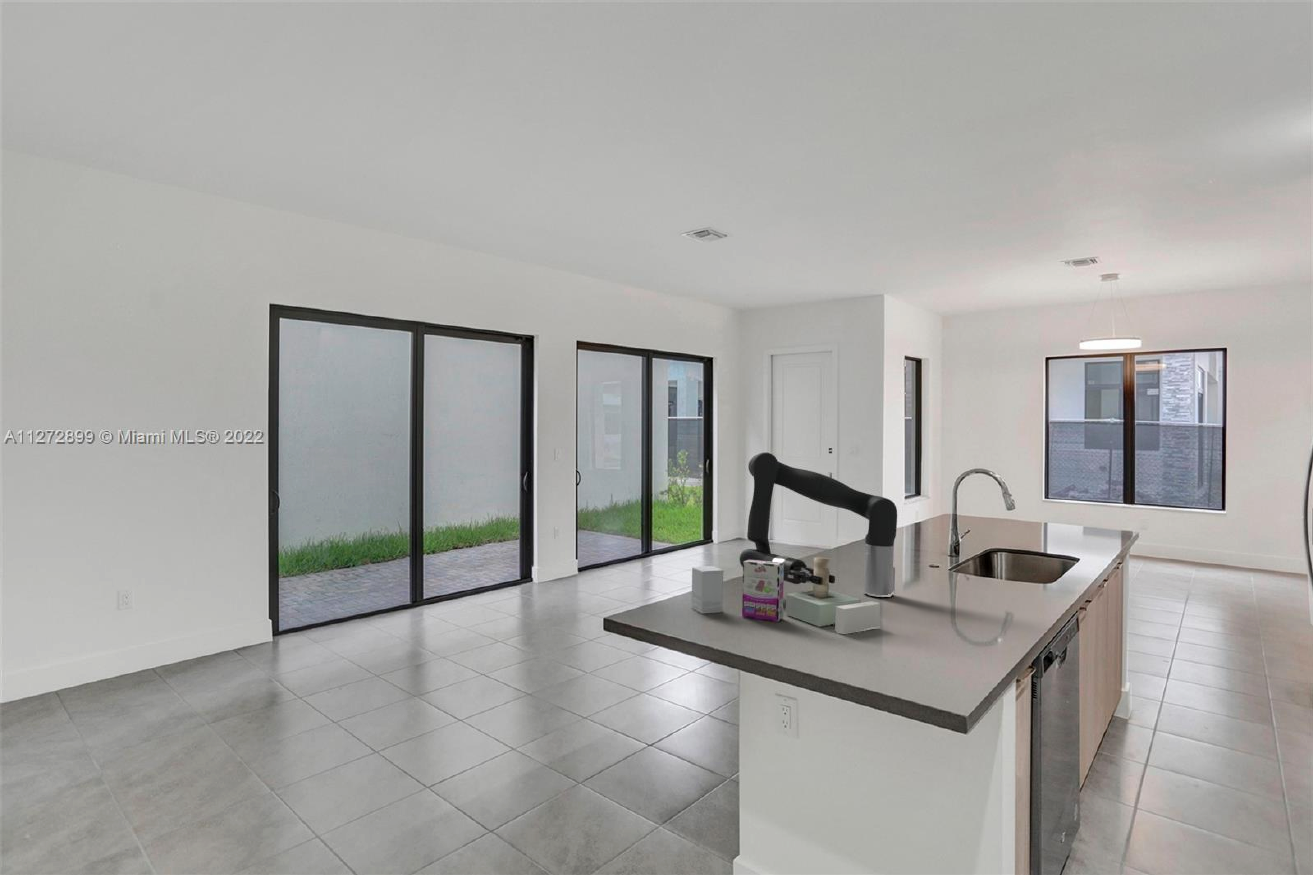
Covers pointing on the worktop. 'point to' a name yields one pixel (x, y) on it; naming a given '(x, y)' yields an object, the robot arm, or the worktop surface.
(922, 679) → the worktop surface
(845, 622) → the backstop board
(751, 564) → the candy bar box
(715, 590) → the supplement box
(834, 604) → the socket block
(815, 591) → the birch dowel
